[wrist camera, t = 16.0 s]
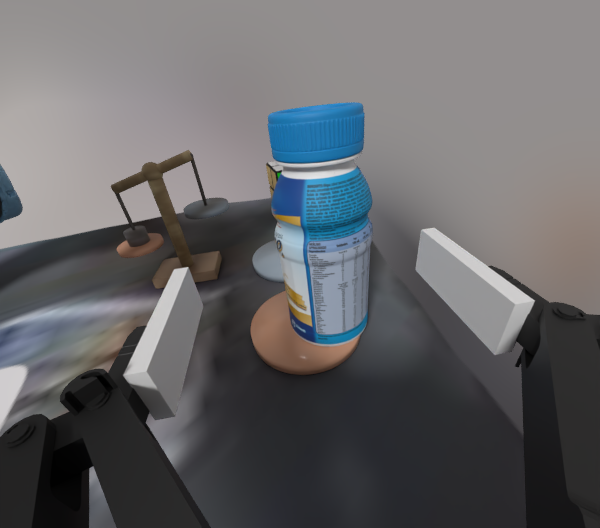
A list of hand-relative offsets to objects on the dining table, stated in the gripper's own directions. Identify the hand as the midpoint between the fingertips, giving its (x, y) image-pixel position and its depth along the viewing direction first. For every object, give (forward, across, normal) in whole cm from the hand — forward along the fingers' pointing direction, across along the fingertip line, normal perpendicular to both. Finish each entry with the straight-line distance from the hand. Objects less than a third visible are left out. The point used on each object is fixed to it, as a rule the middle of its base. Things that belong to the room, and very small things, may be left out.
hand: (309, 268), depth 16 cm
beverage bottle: (+8, +2, -13) cm, 15 cm away
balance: (+25, -16, -14) cm, 33 cm away
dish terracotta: (+9, 0, -14) cm, 16 cm away
